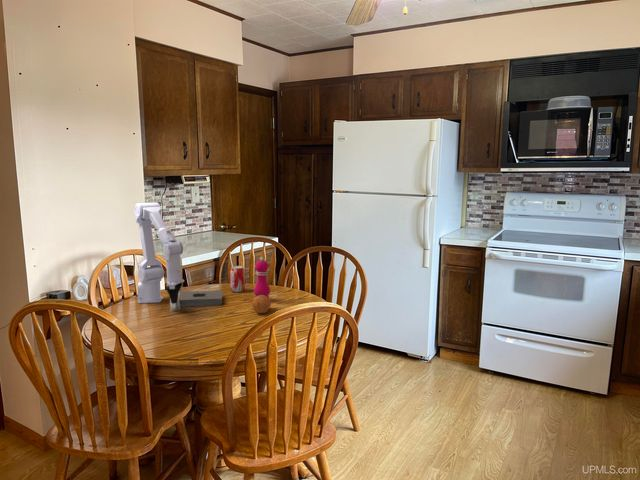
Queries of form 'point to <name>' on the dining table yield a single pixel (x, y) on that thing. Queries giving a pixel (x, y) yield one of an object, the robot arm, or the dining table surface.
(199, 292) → the dock plate
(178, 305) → the steel peg
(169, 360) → the dining table surface
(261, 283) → the pepper mill
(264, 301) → the potato
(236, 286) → the soda can
